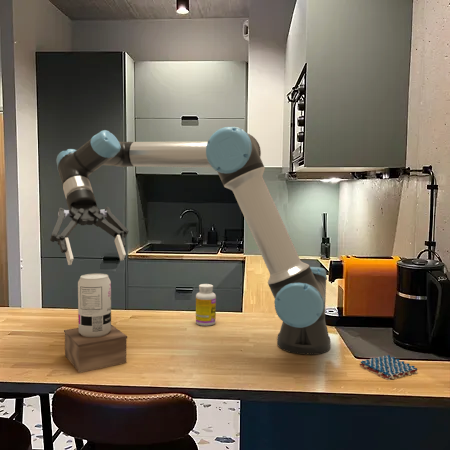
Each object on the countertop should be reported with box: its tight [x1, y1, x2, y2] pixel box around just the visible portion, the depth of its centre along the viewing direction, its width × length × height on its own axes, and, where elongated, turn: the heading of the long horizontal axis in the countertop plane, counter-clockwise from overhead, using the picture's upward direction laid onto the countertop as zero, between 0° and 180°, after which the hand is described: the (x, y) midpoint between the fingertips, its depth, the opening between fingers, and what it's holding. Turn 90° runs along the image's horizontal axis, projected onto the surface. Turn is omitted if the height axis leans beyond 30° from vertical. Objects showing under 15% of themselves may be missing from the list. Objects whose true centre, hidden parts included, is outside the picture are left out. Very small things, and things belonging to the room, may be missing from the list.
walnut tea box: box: [63, 324, 128, 373], centre depth 120 cm, size 13×12×7 cm
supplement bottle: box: [195, 283, 217, 327], centre depth 152 cm, size 7×7×13 cm
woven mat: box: [359, 354, 418, 381], centre depth 116 cm, size 10×11×2 cm
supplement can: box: [77, 273, 112, 337], centre depth 119 cm, size 8×8×15 cm
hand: (98, 259), depth 117 cm, fingers open, 13 cm apart
